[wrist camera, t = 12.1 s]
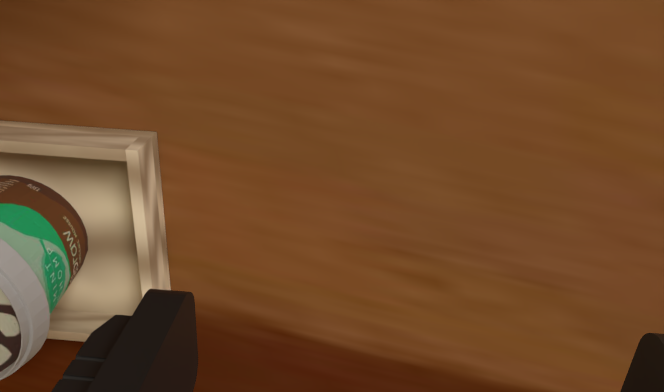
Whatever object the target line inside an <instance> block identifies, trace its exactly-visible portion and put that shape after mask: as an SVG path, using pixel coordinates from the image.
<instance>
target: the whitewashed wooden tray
mask: <svg viewBox="0 0 664 392" xmlns="http://www.w3.org/2000/svg"><path fill="white" fill-rule="evenodd" d="M0 175H12V176H20V177H25V178H28V179H32V180H35V181H37V182H40V183H42V184H44V185H46V186H48V187H50V188H51V189H53V190H54V191H56V192H57V193H59V194H60V195H61V196H62V197H64V198H65V199H66V200H67V201H68V202H69V203H70V204H71V205H72V207H73V208H74V209H75V210H76V211H77V213H78V215H79V216H80V218H81V219H82V222H83V224H84V226H85V229H86V232H87V236H88V251H87V254H86V257H85V260H84V263H83V265H82V267H81V268H80V270H79V271H78V273H77V274H76V276H75V277H74V279H73V281H72V282H71V284H70V285H69V287H68V288H67V290H66V291H65V293H64V294H63V296H62V298H61V299H60V301H59V302H58V304H57V305H56V307H55V308H54V310H53V311H52V313H51V314H50V324H49V331H48V334H47V338H48V339H59V340H71V341H83V342H85V341H86V340H87V338H88V337H89V335H90V334H91V333H92V332H93V331H94V330H96V329H97V328H98V327H100V326H101V325H102V324H104V323H105V322H106V321H108V320H109V319H111V318H112V317H113V316H115V315H127V316H132V315H133V313H134V311H135V310H136V308H137V307H138V305H139V303H140V302H141V300H142V298H143V297H144V295H145V293H146V292H147V291H148V290H149V289H160V290H171V288H170V277H169V266H168V254H167V243H166V231H165V220H164V209H163V197H162V186H161V175H160V163H159V152H158V141H157V132H152V131H138V130H124V129H110V128H97V127H83V126H69V125H55V124H42V123H28V122H14V121H1V120H0Z"/></svg>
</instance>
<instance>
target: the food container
mask: <svg viewBox="0 0 664 392" xmlns="http://www.w3.org/2000/svg"><path fill="white" fill-rule="evenodd" d="M87 251H88V236H87V232H86V229H85V226H84V224H83V222H82V219H81V218H80V216H79V215H78V213H77V211H76V210H75V209H74V208H73V207H72V205H71V204H70V203H69V202H68V201H67V200H66V199H65V198H64V197H62V196H61V195H60V194H59V193H57V192H56V191H54V190H53V189H51V188H50V187H48V186H46V185H44V184H42V183H40V182H37V181H35V180H32V179H28V178H25V177H20V176H12V175H0V380H1V379H4V378H6V377H8V376H9V375H11V374H12V373H14V372H15V371H17V370H18V369H19V368H20V367H21V366H23V365H24V364H25V363H26V362H28V361H29V360H30V359H31V358H33V357H34V356H35V354H36V353H37V352H38V351H39V350H40V349H41V347H42V345H43V344H44V342H45V340H46V338H47V334H48V331H49V324H50V314H51V313H52V311H53V310H54V308H55V307H56V305H57V304H58V302H59V301H60V299H61V298H62V296H63V294H64V293H65V291H66V290H67V288H68V287H69V285H70V284H71V282H72V281H73V279H74V277H75V276H76V274H77V273H78V271H79V270H80V268H81V267H82V265H83V263H84V260H85V257H86V254H87Z"/></svg>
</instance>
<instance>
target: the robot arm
mask: <svg viewBox="0 0 664 392" xmlns="http://www.w3.org/2000/svg"><path fill="white" fill-rule="evenodd" d="M197 368H198V349H197V333H196V317H195V302H194V296H193V294H192V293H191V292H184V291H172V290H160V289H149V290H148V291H147V292H146V293H145V295H144V297H143V298H142V300H141V302H140V303H139V305H138V307H137V308H136V310H135V311H134V313H133V315H132V316H127V315H115V316H113V317H112V318H111V319H109V320H108V321H106V322H105V323H104V324H102V325H101V326H100V327H98V328H97V329H96V330H94V331H93V332H92V333H91V334H90V335H89V337H88V338H87V340H86V341H85V343H84V344H83V346H82V347H81V349H80V350H79V352H78V353H77V355H76V359H75V360H73V361H72V362H71V364H70V365H69V367H68V368H67V370H66V371H65V372H64V374H63V379H62V380H61V379H60V380H59V381H58V383H57V384H56V386H55V387H54V389H53V390H52V392H193V389H194V385H195V381H196V376H197ZM621 392H664V334H657V333H647V334H645V335H644V336H643V337H642V338H641V340H640V342H639V344H638V347H637V349H636V352H635V355H634V357H633V360H632V363H631V365H630V368H629V371H628V373H627V376H626V378H625V381H624V384H623V386H622V389H621Z"/></svg>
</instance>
